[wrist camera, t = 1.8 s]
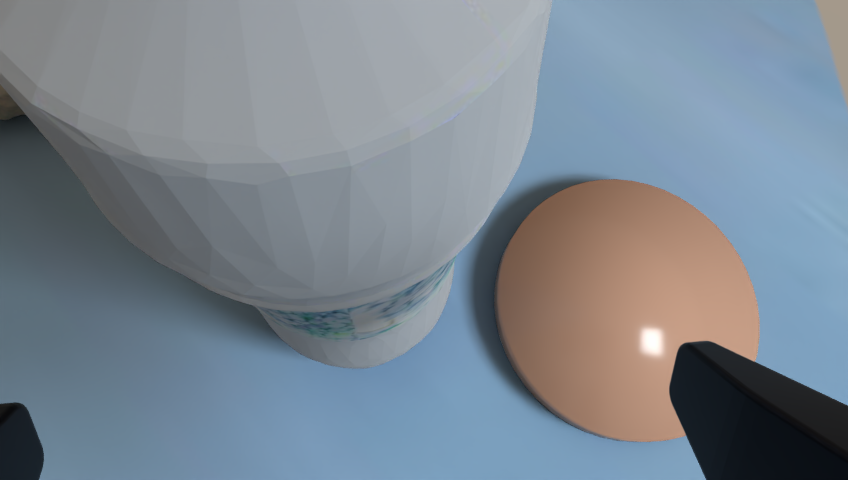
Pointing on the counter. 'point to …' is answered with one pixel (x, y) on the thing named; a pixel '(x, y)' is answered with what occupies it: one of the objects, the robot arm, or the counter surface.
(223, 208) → the bottle
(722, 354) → the robot arm
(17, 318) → the counter surface
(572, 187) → the peach round piece
